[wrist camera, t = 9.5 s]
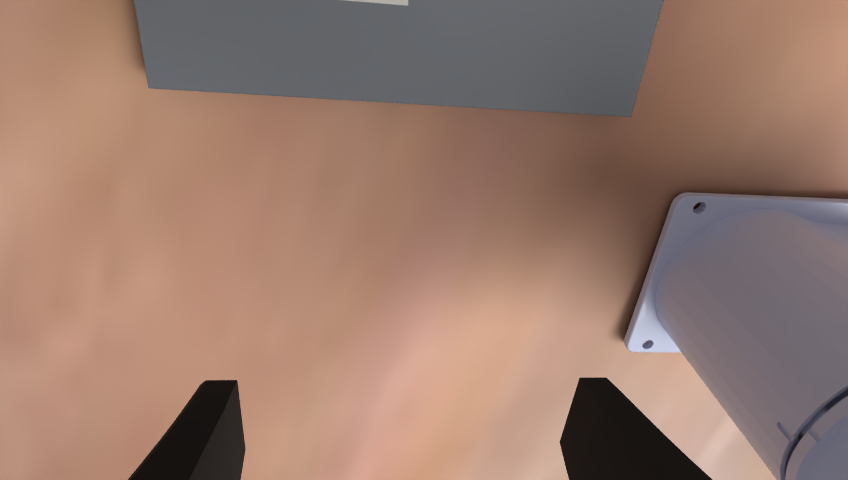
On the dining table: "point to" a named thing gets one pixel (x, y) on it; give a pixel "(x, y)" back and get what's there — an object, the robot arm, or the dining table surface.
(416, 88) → the gray board
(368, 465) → the dining table surface
